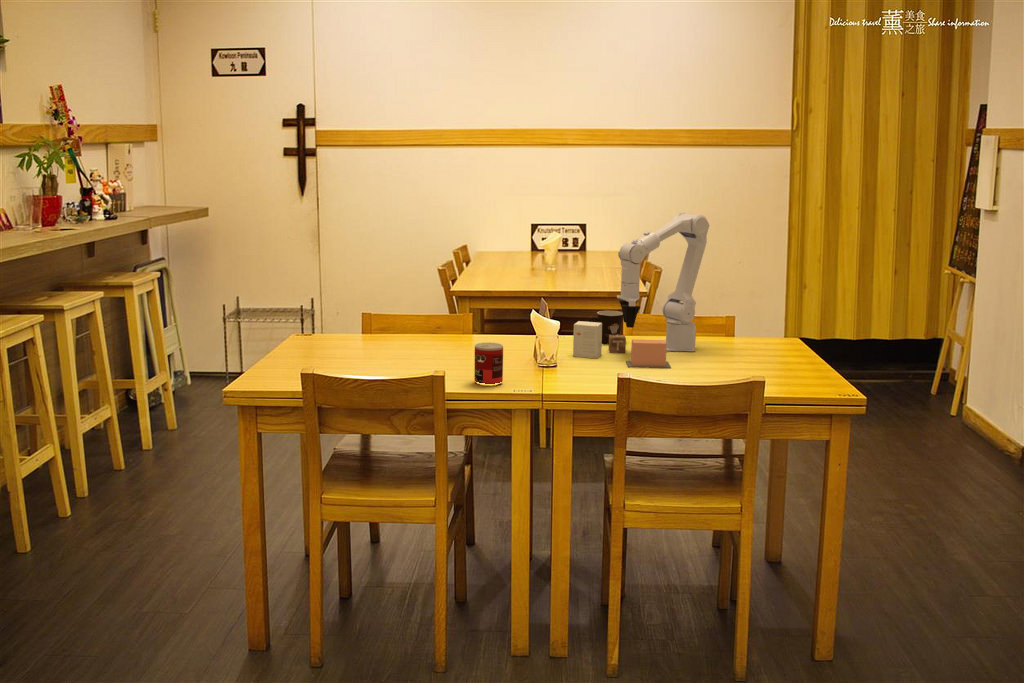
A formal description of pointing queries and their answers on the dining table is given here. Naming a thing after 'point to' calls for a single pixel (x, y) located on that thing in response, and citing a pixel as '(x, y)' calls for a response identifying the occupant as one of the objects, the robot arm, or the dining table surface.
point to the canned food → (488, 363)
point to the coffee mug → (609, 323)
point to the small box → (587, 339)
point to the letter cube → (617, 343)
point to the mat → (649, 366)
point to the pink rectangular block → (648, 352)
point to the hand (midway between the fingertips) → (628, 324)
